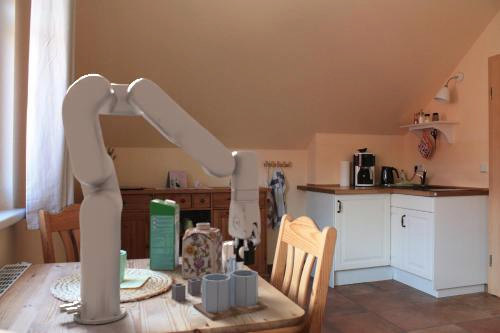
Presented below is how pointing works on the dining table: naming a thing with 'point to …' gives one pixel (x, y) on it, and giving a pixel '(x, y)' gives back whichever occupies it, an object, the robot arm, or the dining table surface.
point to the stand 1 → (178, 292)
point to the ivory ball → (242, 252)
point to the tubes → (229, 290)
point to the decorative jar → (201, 251)
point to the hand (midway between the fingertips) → (245, 262)
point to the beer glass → (229, 258)
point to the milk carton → (164, 235)
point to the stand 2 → (194, 286)
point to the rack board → (230, 310)
